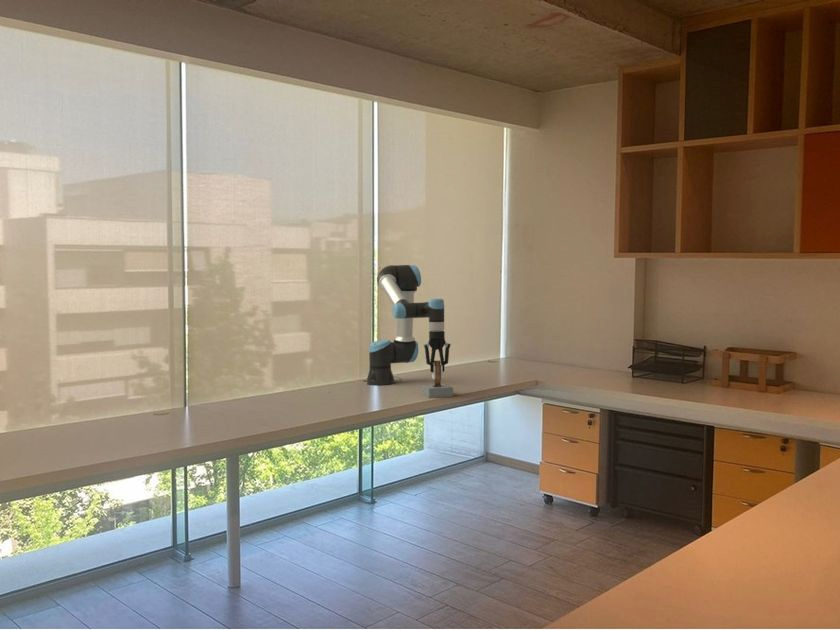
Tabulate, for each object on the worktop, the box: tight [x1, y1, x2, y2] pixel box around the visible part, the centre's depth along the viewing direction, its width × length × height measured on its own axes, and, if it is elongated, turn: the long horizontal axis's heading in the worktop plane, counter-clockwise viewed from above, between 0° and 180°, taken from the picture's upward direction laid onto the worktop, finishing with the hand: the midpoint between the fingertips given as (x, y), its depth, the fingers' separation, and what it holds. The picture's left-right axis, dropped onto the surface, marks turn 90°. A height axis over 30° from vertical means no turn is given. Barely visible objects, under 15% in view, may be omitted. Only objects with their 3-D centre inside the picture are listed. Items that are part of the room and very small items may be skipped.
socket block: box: [422, 383, 454, 399], centre depth 369 cm, size 12×12×4 cm
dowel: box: [434, 360, 442, 387], centre depth 368 cm, size 3×3×14 cm
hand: (437, 378), depth 368 cm, fingers closed on dowel, 3 cm apart
